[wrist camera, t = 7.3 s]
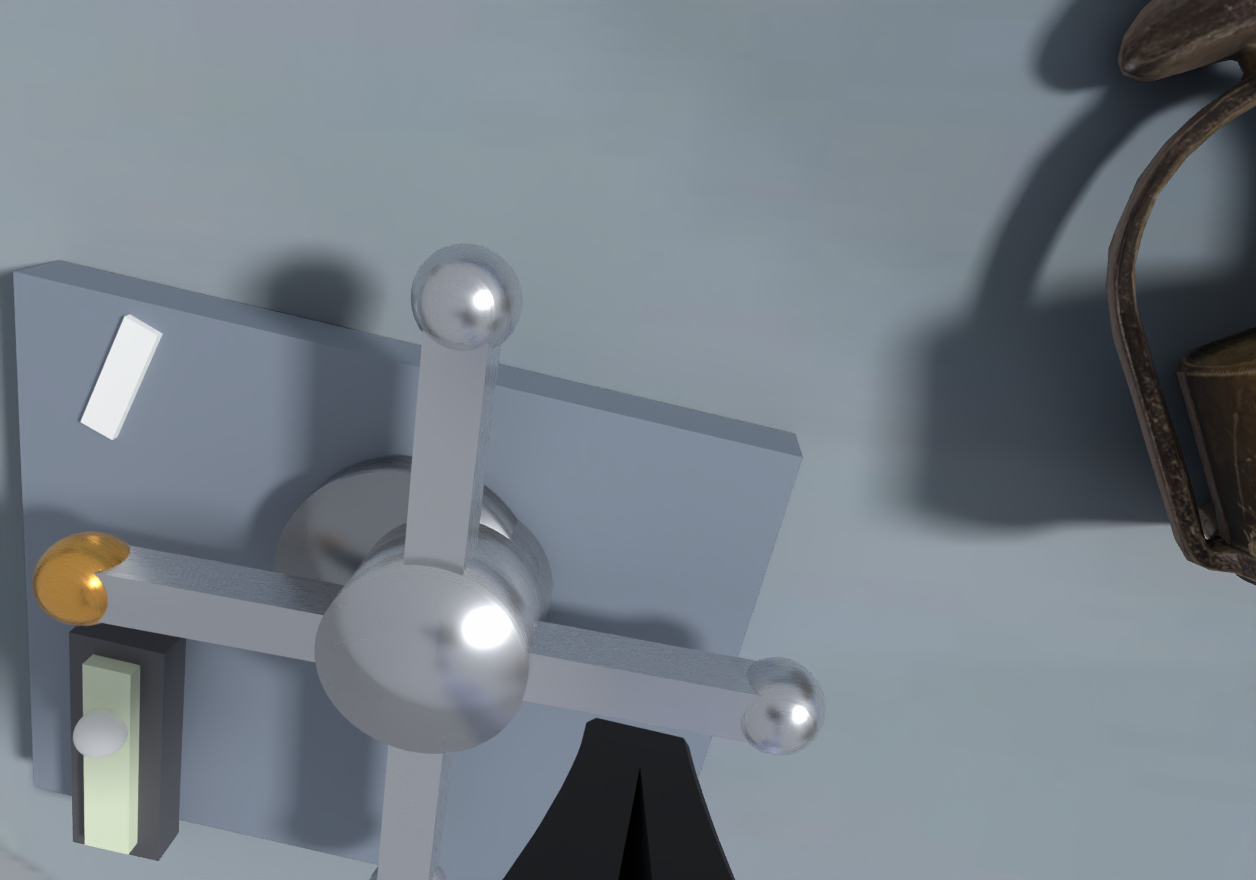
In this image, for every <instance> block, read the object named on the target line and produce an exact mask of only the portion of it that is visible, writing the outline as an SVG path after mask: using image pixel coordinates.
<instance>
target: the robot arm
mask: <svg viewBox="0 0 1256 880" xmlns="http://www.w3.org/2000/svg"><path fill="white" fill-rule="evenodd" d="M502 880H735V878H734V876H733V874H732V871H731V869H730V866H729V864H728V861H727V859H726V856H725V854H724V851H723V849H722V846H721V844H720V841H719V839H718V836H717V833H716V831H715V828H714V825H713V822H712V820H711V817H710V814H709V811H708V808H707V805H706V802H705V799H704V796H703V793H702V790H701V787H700V784H699V781H698V777H697V774H696V771H695V767H694V763H693V760H692V756H691V752H690V748H689V745H688V744H687V742H686V741H685V739H684V738H683V737H678V736H674V735H670V734H665V733H661V732H657V731H652V730H648V729H644V728H639V727H635V726H630V725H626V724H622V723H617V722H613V721H609V720H604V719H600V718H595V719H593V720H590V721H588V722H586V726H585V730H584V734H583V738H582V742H581V745H580V748H579V751H578V753H577V756H576V758H575V760H574V762H573V765H572V767H571V769H570V771H569V773H568V775H567V777H566V779H565V781H564V783H563V785H562V787H561V789H560V790H559V792H558V794H557V796H556V797H555V799H554V801H553V803H552V804H551V806H550V808H549V810H548V811H547V813H546V815H545V816H544V818H543V820H542V822H541V823H540V825H539V827H538V828H537V830H536V831H535V833H534V834H533V836H532V837H531V839H530V840H529V842H528V843H527V845H526V846H525V848H524V849H523V851H522V852H521V853H520V855H519V856H518V858H517V859H516V861H515V862H514V864H513V865H512V867H511V868H510V870H509V871H508V872H507V874H506V875H505V877H504V878H503V879H502Z"/></svg>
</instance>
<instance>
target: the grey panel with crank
mask: <svg viewBox="0 0 1256 880" xmlns="http://www.w3.org/2000/svg"><path fill="white" fill-rule="evenodd" d="M13 283H14V307H15V332H16V356H17V381H18V406H19V430H20V455H21V480H22V504H23V529H24V554H25V578H26V603H27V627H28V652H29V677H30V701H31V726H32V751H33V775H34V787H37V788H41V789H46V790H50V791H54V792H59V793H63V794H68V795H72V816H73V842H77V843H81V844H85V845H88V846H93V847H97V848H102V849H106V850H111V851H115V852H119V853H124V854H130V855H134V856H139V857H143V858H147V859H152V860H156V861H159V859H160V858H161V857H162V855H163V854H164V852H165V851H166V850H167V848H168V847H169V845H170V844H171V843H172V841H173V840H174V838H175V837H176V836H177V834H178V832H179V820H182V821H187V822H191V823H196V824H200V825H204V826H209V827H213V828H218V829H222V830H226V831H231V832H235V833H240V834H244V835H248V836H253V837H257V838H262V839H266V840H271V841H275V842H279V843H284V844H288V845H293V846H297V847H301V848H306V849H310V850H315V851H319V852H323V853H328V854H332V855H337V856H341V857H346V858H350V859H354V860H359V861H363V862H368V863H372V864H376V865H378V863H379V851H380V839H381V827H382V815H383V803H384V791H385V779H386V767H387V755H388V745H387V744H385V743H383V742H380V741H378V740H376V739H374V738H372V737H371V736H369V735H367V734H366V733H364V732H362V731H361V730H360V729H358V728H357V727H356V726H354V725H353V724H352V723H351V722H349V721H348V720H347V719H346V718H345V717H344V716H343V715H342V714H341V713H340V712H339V710H338V709H337V708H336V707H335V706H334V705H333V703H332V702H331V700H330V698H329V697H328V695H327V694H326V692H325V690H324V688H323V686H322V684H321V681H320V679H319V676H318V673H317V668H316V663H315V662H311V661H306V660H300V659H295V658H289V657H284V656H279V655H273V654H268V653H262V652H257V651H252V650H246V649H241V648H235V647H230V646H225V645H219V644H214V643H208V642H203V641H197V640H192V639H187V638H181V637H176V636H170V635H165V634H160V633H154V632H149V631H143V630H138V629H133V628H127V627H122V626H116V625H111V624H105V623H100V624H96V625H91V626H74V625H69V624H65V623H62V622H59V621H57V620H55V619H54V618H52V617H50V616H49V615H48V614H47V613H45V612H44V611H43V610H42V608H41V607H40V606H39V604H38V603H37V601H36V599H35V597H34V593H33V588H32V577H33V572H34V569H35V566H36V564H37V562H38V560H39V559H40V557H41V556H42V554H43V553H44V552H45V551H46V550H47V549H48V548H49V547H50V546H51V545H53V544H54V543H55V542H57V541H59V540H60V539H62V538H64V537H67V536H69V535H72V534H76V533H80V532H103V533H107V534H111V535H113V536H116V537H118V538H120V539H121V540H123V541H124V542H126V543H127V544H128V545H130V546H135V547H141V548H146V549H152V550H157V551H163V552H168V553H173V554H179V555H184V556H190V557H195V558H201V559H206V560H211V561H217V562H222V563H228V564H233V565H239V566H244V567H249V568H255V569H260V570H266V571H271V572H274V559H275V552H276V548H277V545H278V541H279V538H280V536H281V534H282V531H283V529H284V527H285V525H286V524H287V522H288V521H289V519H290V518H291V516H292V515H293V513H294V512H295V511H296V510H297V509H298V508H299V507H300V506H301V505H302V503H303V502H304V501H305V500H306V499H307V498H308V497H309V496H310V495H311V494H312V493H313V492H314V491H315V490H316V489H317V488H318V487H319V486H320V485H321V484H323V483H324V482H325V481H326V480H328V479H329V478H330V477H331V476H333V475H334V474H336V473H338V472H339V471H341V470H343V469H344V468H347V467H349V466H352V465H354V464H356V463H359V462H363V461H366V460H370V459H374V458H382V457H390V456H408V457H412V455H413V443H414V431H415V419H416V407H417V395H418V383H419V371H420V359H421V347H422V346H420V345H416V344H412V343H408V342H403V341H399V340H395V339H391V338H386V337H382V336H378V335H374V334H369V333H365V332H361V331H357V330H352V329H348V328H344V327H340V326H335V325H331V324H327V323H323V322H319V321H314V320H310V319H306V318H302V317H297V316H293V315H289V314H285V313H280V312H276V311H272V310H268V309H263V308H259V307H255V306H251V305H247V304H242V303H238V302H234V301H230V300H225V299H221V298H217V297H213V296H208V295H204V294H200V293H196V292H191V291H187V290H183V289H179V288H174V287H170V286H166V285H162V284H158V283H153V282H149V281H145V280H141V279H136V278H132V277H128V276H124V275H119V274H115V273H111V272H107V271H102V270H98V269H94V268H90V267H85V266H81V265H77V264H73V263H69V262H64V261H60V260H59V261H54V262H50V263H46V264H42V265H38V266H34V267H29V268H25V269H21V270H17V271H13ZM802 458H803V457H802V453H801V450H800V447H799V444H798V441H797V438H796V434H793V433H789V432H785V431H780V430H776V429H772V428H768V427H763V426H759V425H755V424H751V423H746V422H742V421H738V420H734V419H730V418H725V417H721V416H717V415H713V414H708V413H704V412H700V411H696V410H691V409H687V408H683V407H679V406H674V405H670V404H666V403H662V402H658V401H653V400H649V399H645V398H641V397H636V396H632V395H628V394H624V393H619V392H615V391H611V390H607V389H602V388H598V387H594V386H590V385H585V384H581V383H577V382H573V381H569V380H564V379H560V378H556V377H552V376H547V375H543V374H539V373H535V372H530V371H526V370H522V369H518V368H513V367H509V366H505V365H501V364H498V372H497V380H496V389H495V397H494V406H493V414H492V423H491V431H490V440H489V448H488V457H487V465H486V473H485V482H484V485H486V486H487V487H488V488H489V489H490V490H492V491H493V492H494V493H495V494H496V495H497V496H499V497H500V498H501V500H502V501H503V502H504V503H505V504H506V505H507V506H508V507H509V508H510V509H511V511H512V512H513V514H514V515H515V516H516V518H517V519H518V520H519V521H520V522H521V523H522V524H523V525H525V526H526V527H527V528H528V529H529V530H530V532H531V533H532V534H533V535H534V536H535V537H536V539H537V540H538V542H539V543H540V545H541V546H542V548H543V550H544V552H545V554H546V556H547V559H548V561H549V564H550V568H551V573H552V581H553V591H552V599H551V603H550V607H549V611H548V614H547V618H546V621H545V622H548V623H553V624H559V625H564V626H569V627H575V628H580V629H586V630H591V631H597V632H602V633H607V634H613V635H618V636H624V637H629V638H635V639H640V640H645V641H651V642H656V643H662V644H667V645H672V646H678V647H683V648H689V649H694V650H700V651H705V652H710V653H716V654H721V655H727V656H732V657H738V655H739V652H740V649H741V646H742V643H743V640H744V637H745V634H746V631H747V628H748V625H749V621H750V618H751V615H752V612H753V609H754V606H755V603H756V600H757V597H758V594H759V591H760V588H761V585H762V581H763V578H764V575H765V572H766V569H767V566H768V563H769V560H770V557H771V554H772V551H773V548H774V545H775V541H776V538H777V535H778V532H779V529H780V526H781V523H782V520H783V517H784V514H785V511H786V508H787V505H788V501H789V498H790V495H791V492H792V489H793V486H794V483H795V480H796V477H797V474H798V471H799V468H800V465H801V461H802ZM595 718H600V719H604V720H609V721H613V722H617V723H622V724H626V725H630V726H635V727H639V728H644V729H648V730H652V731H657V732H661V733H665V734H670V735H674V736H678V737H683V738H684V739H685V741H686V742H687V744H688V745H689V748H690V752H691V756H692V760H693V763H694V767H695V771H696V774H697V777H698V778H699V775H700V772H701V769H702V766H703V763H704V760H705V757H706V754H707V751H708V748H709V745H710V741H711V738H712V735H706V734H701V733H695V732H690V731H685V730H679V729H674V728H668V727H663V726H657V725H652V724H647V723H641V722H636V721H630V720H625V719H620V718H614V717H609V716H603V715H598V714H593V713H587V712H582V711H576V710H571V709H565V708H560V707H555V706H549V705H544V704H538V703H533V702H528V701H522V703H521V705H520V707H519V709H518V711H517V713H516V714H515V716H514V718H513V719H512V720H511V721H510V722H509V724H508V725H507V726H506V727H505V728H504V729H503V730H502V731H501V732H499V733H498V734H497V735H496V736H494V737H493V738H491V739H489V740H488V741H486V742H484V743H482V744H480V745H478V746H476V747H473V748H469V749H466V750H463V751H458V752H453V753H452V762H451V770H450V779H449V787H448V796H447V804H446V813H445V821H444V829H443V838H442V846H441V855H440V863H439V865H440V866H441V868H442V869H443V871H444V873H445V875H446V879H447V880H502V879H503V878H504V877H505V875H506V874H507V872H508V871H509V870H510V868H511V867H512V865H513V864H514V862H515V861H516V859H517V858H518V856H519V855H520V853H521V852H522V851H523V849H524V848H525V846H526V845H527V843H528V842H529V840H530V839H531V837H532V836H533V834H534V833H535V831H536V830H537V828H538V827H539V825H540V823H541V822H542V820H543V818H544V816H545V815H546V813H547V811H548V810H549V808H550V806H551V804H552V803H553V801H554V799H555V797H556V796H557V794H558V792H559V790H560V789H561V787H562V785H563V783H564V781H565V779H566V777H567V775H568V773H569V771H570V769H571V767H572V765H573V762H574V760H575V758H576V756H577V753H578V751H579V748H580V745H581V742H582V738H583V734H584V730H585V726H586V722H588V721H590V720H593V719H595Z"/></svg>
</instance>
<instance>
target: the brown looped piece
mask: <svg viewBox="0 0 1256 880" xmlns="http://www.w3.org/2000/svg"><path fill="white" fill-rule="evenodd" d="M1227 60H1234V61H1238V63H1239V66H1240V68H1241V70H1242V72H1243V76H1242V79H1241V82H1240V83H1238V84H1237V85H1235V86H1234V87H1233V88H1231V89H1230V90H1228V91H1227V92H1225V93H1224V94H1222V95H1221V96H1220V97H1218V98H1217V99H1215V100H1214V101H1212V102H1211V103H1210V104H1208V105H1207V106H1205V107H1204V108H1202V109H1201V110H1200V111H1199V112H1198V113H1196V114H1195V115H1194V116H1193V117H1192V118H1191V119H1189V120H1188V121H1187V122H1186V123H1185V124H1184V125H1183V126H1182V127H1181V128H1180V129H1179V130H1178V131H1177V132H1176V133H1175V134H1174V135H1173V136H1172V137H1171V138H1170V139H1169V140H1168V141H1167V142H1166V143H1165V144H1164V145H1163V146H1162V148H1161V149H1160V150H1159V151H1158V153H1157V154H1156V155H1155V157H1154V158H1153V159H1152V161H1151V162H1150V163H1149V165H1148V166H1147V167H1146V169H1145V170H1144V171H1143V173H1142V174H1141V176H1140V177H1139V178H1138V180H1137V182H1136V184H1135V186H1134V189H1133V191H1132V193H1131V195H1130V198H1129V200H1128V202H1127V204H1126V207H1125V209H1124V211H1123V214H1122V216H1121V218H1120V220H1119V223H1118V225H1117V227H1116V230H1115V232H1114V235H1113V238H1112V241H1111V244H1110V246H1109V253H1108V266H1107V280H1106V290H1107V298H1108V306H1109V313H1110V321H1111V329H1112V337H1113V341H1114V344H1115V347H1116V350H1117V353H1118V356H1119V359H1120V362H1121V365H1122V368H1123V371H1124V374H1125V377H1126V380H1127V383H1128V386H1129V389H1130V392H1131V396H1132V399H1133V403H1134V406H1135V409H1136V413H1137V416H1138V420H1139V423H1140V426H1141V430H1142V433H1143V437H1144V440H1145V444H1146V447H1147V450H1148V454H1149V457H1150V460H1151V464H1152V467H1153V470H1154V473H1155V477H1156V480H1157V483H1158V486H1159V489H1160V493H1161V496H1162V499H1163V502H1164V506H1165V509H1166V512H1167V515H1168V519H1169V522H1170V525H1171V528H1172V531H1173V535H1174V538H1175V541H1176V542H1177V544H1178V546H1179V547H1180V549H1181V551H1182V552H1183V554H1184V556H1185V557H1186V559H1187V560H1188V561H1190V562H1193V563H1195V564H1198V565H1200V566H1202V567H1205V568H1207V569H1209V570H1214V571H1222V572H1231V573H1235V574H1236V575H1237V576H1239V577H1240V578H1242V579H1243V580H1245V581H1247V582H1249V583H1252V584H1254V585H1256V327H1255V328H1252V329H1248V330H1246V331H1244V332H1241V333H1239V334H1236V335H1233V336H1229V337H1226V338H1223V339H1220V340H1217V341H1214V342H1211V343H1209V344H1207V345H1204V346H1202V347H1199V348H1197V349H1195V350H1192V351H1191V352H1189V353H1187V354H1186V355H1185V356H1184V357H1182V358H1181V359H1180V360H1179V362H1178V365H1177V367H1176V372H1175V374H1176V377H1177V381H1178V384H1179V387H1180V391H1181V394H1182V397H1183V401H1184V404H1185V408H1186V411H1187V415H1188V418H1189V422H1190V425H1191V429H1192V432H1193V436H1194V439H1195V443H1196V446H1197V450H1198V453H1199V457H1200V460H1201V464H1202V467H1203V471H1204V475H1205V478H1206V482H1207V485H1208V489H1209V492H1210V496H1211V500H1212V503H1210V504H1207V505H1203V506H1199V507H1198V506H1197V503H1196V499H1195V496H1194V492H1193V489H1192V485H1191V482H1190V478H1189V475H1188V471H1187V468H1186V464H1185V461H1184V457H1183V454H1182V451H1181V448H1180V445H1179V442H1178V439H1177V436H1176V433H1175V430H1174V427H1173V424H1172V422H1171V419H1170V416H1169V413H1168V410H1167V407H1166V403H1165V400H1164V397H1163V394H1162V391H1161V388H1160V384H1159V381H1158V377H1157V374H1156V370H1155V367H1154V364H1153V360H1152V357H1151V353H1150V350H1149V346H1148V343H1147V339H1146V336H1145V333H1144V329H1143V326H1142V322H1141V319H1140V315H1139V312H1138V309H1137V304H1136V282H1135V263H1136V259H1137V255H1138V250H1139V246H1140V242H1141V238H1142V234H1143V231H1144V228H1145V226H1146V223H1147V220H1148V218H1149V215H1150V213H1151V210H1152V208H1153V205H1154V203H1155V200H1156V198H1157V196H1158V194H1159V193H1160V192H1161V190H1162V189H1163V188H1164V186H1165V185H1166V184H1167V183H1168V181H1169V180H1170V179H1171V177H1172V176H1173V175H1174V173H1175V172H1176V171H1177V170H1178V168H1179V167H1180V166H1181V164H1182V163H1183V162H1184V160H1185V159H1186V158H1187V157H1188V156H1189V155H1190V154H1191V153H1192V152H1193V151H1195V150H1196V149H1197V148H1198V147H1199V146H1200V145H1201V144H1202V143H1204V142H1205V141H1206V140H1207V139H1208V138H1209V137H1210V136H1211V135H1212V134H1214V133H1215V132H1216V131H1217V130H1218V129H1220V128H1221V127H1223V126H1224V125H1226V124H1227V123H1229V122H1231V121H1232V120H1234V119H1235V118H1237V117H1239V116H1240V115H1242V114H1243V113H1245V112H1247V111H1248V110H1250V109H1251V108H1253V107H1255V106H1256V0H1151V1H1150V2H1149V3H1148V4H1147V5H1146V6H1145V7H1143V8H1142V9H1141V11H1140V12H1139V14H1138V15H1137V17H1136V18H1135V20H1134V21H1133V23H1132V24H1131V26H1130V27H1129V29H1128V30H1127V32H1126V33H1125V35H1124V36H1123V40H1122V44H1121V47H1120V51H1119V55H1118V59H1117V62H1118V64H1119V67H1120V69H1121V72H1122V75H1124V76H1127V77H1129V78H1131V79H1134V80H1136V81H1155V80H1158V79H1162V78H1165V77H1169V76H1172V75H1176V74H1179V73H1183V72H1186V71H1189V70H1193V69H1196V68H1200V67H1203V66H1207V65H1210V64H1214V63H1217V62H1222V61H1227ZM1204 534H1205V535H1206V537H1207V538H1208V539H1205V536H1204Z"/></svg>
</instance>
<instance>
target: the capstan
mask: <svg viewBox="0 0 1256 880" xmlns="http://www.w3.org/2000/svg"><path fill="white" fill-rule="evenodd" d="M411 307H412V311H413V315H414V318H415V320H416V322H417V324H418V326H419V328H420V329H421V331H422V332H423V335H422V347H421V359H420V371H419V383H418V395H417V407H416V419H415V431H414V443H413V455H412V457H408V456H390V457H382V458H374V459H370V460H366V461H363V462H359V463H356V464H354V465H352V466H349V467H347V468H344V469H343V470H341V471H339V472H338V473H336V474H334V475H333V476H331V477H330V478H329V479H328V480H326V481H325V482H324V483H323V484H321V485H320V486H319V487H318V488H317V489H316V490H315V491H314V492H313V493H312V494H311V495H310V496H309V497H308V498H307V499H306V500H305V501H304V502H303V503H302V505H301V506H300V507H299V508H298V509H297V510H296V511H295V512H294V513H293V515H292V516H291V518H290V519H289V521H288V522H287V524H286V525H285V527H284V529H283V531H282V534H281V536H280V538H279V541H278V545H277V548H276V552H275V559H274V572H271V571H266V570H260V569H255V568H249V567H244V566H239V565H233V564H228V563H222V562H217V561H211V560H206V559H201V558H195V557H190V556H184V555H179V554H173V553H168V552H163V551H157V550H152V549H146V548H141V547H135V546H130V545H128V544H127V543H126V542H124V541H123V540H121V539H120V538H118V537H116V536H113V535H111V534H107V533H103V532H80V533H76V534H72V535H69V536H67V537H64V538H62V539H60V540H59V541H57V542H55V543H54V544H53V545H51V546H50V547H49V548H48V549H47V550H46V551H45V552H44V553H43V554H42V556H41V557H40V559H39V560H38V562H37V564H36V566H35V569H34V572H33V577H32V588H33V593H34V597H35V599H36V601H37V603H38V604H39V606H40V607H41V608H42V610H43V611H44V612H45V613H47V614H48V615H49V616H50V617H52V618H54V619H55V620H57V621H59V622H62V623H65V624H69V625H74V626H91V625H96V624H100V623H105V624H111V625H116V626H122V627H127V628H133V629H138V630H143V631H149V632H154V633H160V634H165V635H170V636H176V637H181V638H187V639H192V640H197V641H203V642H208V643H214V644H219V645H225V646H230V647H235V648H241V649H246V650H252V651H257V652H262V653H268V654H273V655H279V656H284V657H289V658H295V659H300V660H306V661H311V662H315V663H316V668H317V673H318V676H319V679H320V681H321V684H322V686H323V688H324V690H325V692H326V694H327V695H328V697H329V698H330V700H331V702H332V703H333V705H334V706H335V707H336V708H337V709H338V710H339V712H340V713H341V714H342V715H343V716H344V717H345V718H346V719H347V720H348V721H349V722H351V723H352V724H353V725H354V726H356V727H357V728H358V729H360V730H361V731H362V732H364V733H366V734H367V735H369V736H371V737H372V738H374V739H376V740H378V741H380V742H383V743H385V744H387V745H388V755H387V767H386V779H385V791H384V803H383V815H382V827H381V839H380V851H379V863H378V867H377V869H376V870H375V871H374V873H373V874H372V876H371V878H370V880H447V879H446V875H445V873H444V871H443V869H442V868H441V866H440V865H439V863H440V855H441V846H442V838H443V829H444V821H445V813H446V804H447V796H448V787H449V779H450V770H451V762H452V753H453V752H458V751H463V750H466V749H469V748H473V747H476V746H478V745H480V744H482V743H484V742H486V741H488V740H489V739H491V738H493V737H494V736H496V735H497V734H498V733H499V732H501V731H502V730H503V729H504V728H505V727H506V726H507V725H508V724H509V722H510V721H511V720H512V719H513V718H514V716H515V714H516V713H517V711H518V709H519V707H520V705H521V703H522V701H528V702H533V703H538V704H544V705H549V706H555V707H560V708H565V709H571V710H576V711H582V712H587V713H593V714H598V715H603V716H609V717H614V718H620V719H625V720H630V721H636V722H641V723H647V724H652V725H657V726H663V727H668V728H674V729H679V730H685V731H690V732H695V733H701V734H706V735H712V736H717V737H722V738H728V739H733V740H739V741H744V742H748V743H749V744H750V745H751V746H753V747H754V748H756V749H758V750H760V751H762V752H764V753H767V754H772V755H789V754H793V753H796V752H799V751H801V750H803V749H804V748H806V747H807V746H808V745H810V744H811V743H812V742H813V741H814V740H815V738H816V737H817V736H818V734H819V732H820V731H821V728H822V726H823V723H824V719H825V711H826V706H825V698H824V694H823V691H822V689H821V686H820V684H819V683H818V681H817V680H816V678H815V677H814V676H813V674H812V673H811V672H810V671H809V670H808V669H806V668H805V667H804V666H802V665H801V664H799V663H797V662H795V661H793V660H790V659H786V658H779V657H772V658H766V659H762V660H759V661H754V660H748V659H743V658H738V657H732V656H727V655H721V654H716V653H710V652H705V651H700V650H694V649H689V648H683V647H678V646H672V645H667V644H662V643H656V642H651V641H645V640H640V639H635V638H629V637H624V636H618V635H613V634H607V633H602V632H597V631H591V630H586V629H580V628H575V627H569V626H564V625H559V624H553V623H548V622H545V621H546V618H547V614H548V611H549V607H550V603H551V599H552V591H553V581H552V573H551V568H550V564H549V561H548V559H547V556H546V554H545V552H544V550H543V548H542V546H541V545H540V543H539V542H538V540H537V539H536V537H535V536H534V535H533V534H532V533H531V532H530V530H529V529H528V528H527V527H526V526H525V525H523V524H522V523H521V522H520V521H519V520H518V519H517V518H516V516H515V515H514V514H513V512H512V511H511V509H510V508H509V507H508V506H507V505H506V504H505V503H504V502H503V501H502V500H501V498H500V497H499V496H497V495H496V494H495V493H494V492H493V491H492V490H490V489H489V488H488V487H487V486H486V485H484V482H485V473H486V465H487V457H488V448H489V440H490V431H491V423H492V414H493V406H494V397H495V389H496V380H497V372H498V363H499V355H500V346H501V343H503V342H504V341H505V340H506V339H507V338H508V337H509V336H510V335H511V333H512V332H513V330H514V329H515V327H516V325H517V323H518V321H519V318H520V315H521V310H522V292H521V287H520V284H519V281H518V278H517V276H516V274H515V272H514V271H513V269H512V268H511V266H510V265H509V264H508V263H507V262H506V261H505V260H504V259H503V258H502V257H501V256H500V255H498V254H497V253H495V252H494V251H492V250H490V249H488V248H485V247H483V246H479V245H475V244H456V245H451V246H448V247H445V248H442V249H440V250H438V251H437V252H435V253H434V254H432V255H431V256H430V257H429V258H428V259H426V260H425V261H424V263H423V264H422V265H421V266H420V268H419V270H418V271H417V273H416V276H415V278H414V280H413V284H412V288H411Z"/></svg>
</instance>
